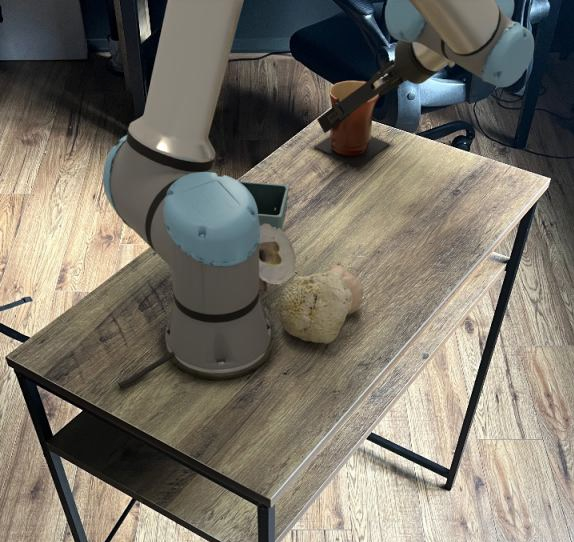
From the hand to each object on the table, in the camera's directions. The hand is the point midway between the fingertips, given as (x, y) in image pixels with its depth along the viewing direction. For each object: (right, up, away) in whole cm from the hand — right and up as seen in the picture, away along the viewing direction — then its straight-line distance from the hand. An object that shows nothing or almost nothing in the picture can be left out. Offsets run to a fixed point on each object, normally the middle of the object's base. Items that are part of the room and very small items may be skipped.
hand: (342, 112), depth 149 cm
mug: (+2, -5, +3) cm, 6 cm away
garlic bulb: (-4, -42, -30) cm, 52 cm away
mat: (+2, -5, +3) cm, 6 cm away
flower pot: (-15, -30, -16) cm, 37 cm away
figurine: (-10, -35, -33) cm, 50 cm away
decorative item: (-4, -48, -31) cm, 57 cm away
